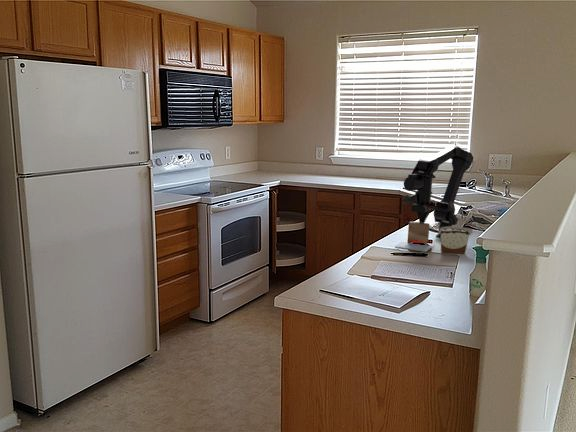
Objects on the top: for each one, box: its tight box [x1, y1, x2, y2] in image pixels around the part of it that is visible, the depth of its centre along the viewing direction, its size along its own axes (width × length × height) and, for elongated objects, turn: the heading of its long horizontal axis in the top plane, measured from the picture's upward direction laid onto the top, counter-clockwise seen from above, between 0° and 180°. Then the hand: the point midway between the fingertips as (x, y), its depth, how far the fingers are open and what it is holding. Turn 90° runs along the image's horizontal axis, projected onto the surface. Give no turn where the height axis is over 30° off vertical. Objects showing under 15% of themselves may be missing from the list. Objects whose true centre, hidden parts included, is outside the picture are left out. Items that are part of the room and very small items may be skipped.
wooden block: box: [406, 220, 431, 245], centre depth 225 cm, size 3×8×9 cm, turn 62°
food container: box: [439, 226, 471, 256], centre depth 213 cm, size 12×6×10 cm, turn 89°
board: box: [394, 241, 433, 253], centre depth 221 cm, size 9×13×1 cm
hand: (421, 225), depth 229 cm, fingers closed
